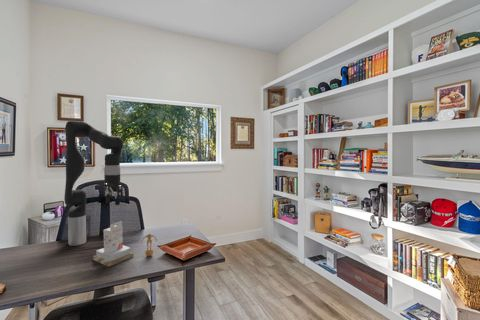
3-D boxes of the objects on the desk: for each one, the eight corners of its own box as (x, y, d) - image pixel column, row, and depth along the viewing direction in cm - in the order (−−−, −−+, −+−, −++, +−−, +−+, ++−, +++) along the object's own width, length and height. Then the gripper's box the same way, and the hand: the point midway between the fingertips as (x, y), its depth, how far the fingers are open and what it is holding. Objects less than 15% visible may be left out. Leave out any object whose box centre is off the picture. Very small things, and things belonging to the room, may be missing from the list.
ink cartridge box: (115, 245, 138) (115, 219, 138) (123, 246, 137) (122, 220, 136) (103, 251, 130) (102, 224, 129) (110, 253, 129) (110, 225, 128)
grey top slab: (96, 256, 132) (96, 250, 132) (117, 248, 142) (117, 243, 142) (109, 261, 126) (109, 255, 125) (130, 253, 136) (130, 247, 136)
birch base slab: (93, 261, 132) (93, 256, 132) (118, 252, 144) (118, 247, 144) (108, 268, 124) (108, 262, 124) (133, 258, 136) (133, 252, 136)
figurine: (140, 258, 134) (140, 236, 133) (141, 253, 140) (141, 232, 139) (157, 256, 137) (156, 235, 136) (157, 252, 142) (157, 231, 142)
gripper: (97, 173, 132) (98, 203, 133) (113, 175, 125) (113, 207, 125) (111, 172, 138) (111, 200, 139) (127, 173, 131) (127, 204, 132)
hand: (112, 203), depth 132 cm, fingers open, 8 cm apart
